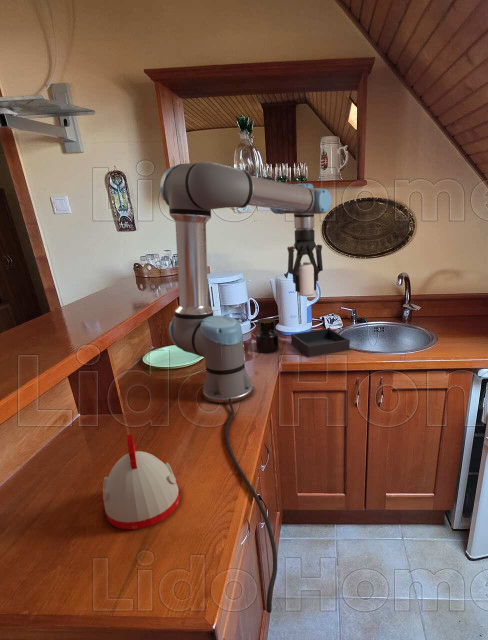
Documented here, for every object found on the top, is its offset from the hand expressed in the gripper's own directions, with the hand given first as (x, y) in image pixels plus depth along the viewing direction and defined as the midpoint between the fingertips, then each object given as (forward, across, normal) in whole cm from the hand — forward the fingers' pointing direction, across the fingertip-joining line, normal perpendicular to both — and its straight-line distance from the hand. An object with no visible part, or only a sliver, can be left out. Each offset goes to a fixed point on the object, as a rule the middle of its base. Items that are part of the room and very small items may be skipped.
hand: (305, 290), depth 167 cm
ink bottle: (+21, +18, +3) cm, 28 cm away
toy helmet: (+21, +69, +81) cm, 108 cm away
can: (+2, 0, 0) cm, 2 cm away
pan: (+21, -2, +9) cm, 23 cm away
